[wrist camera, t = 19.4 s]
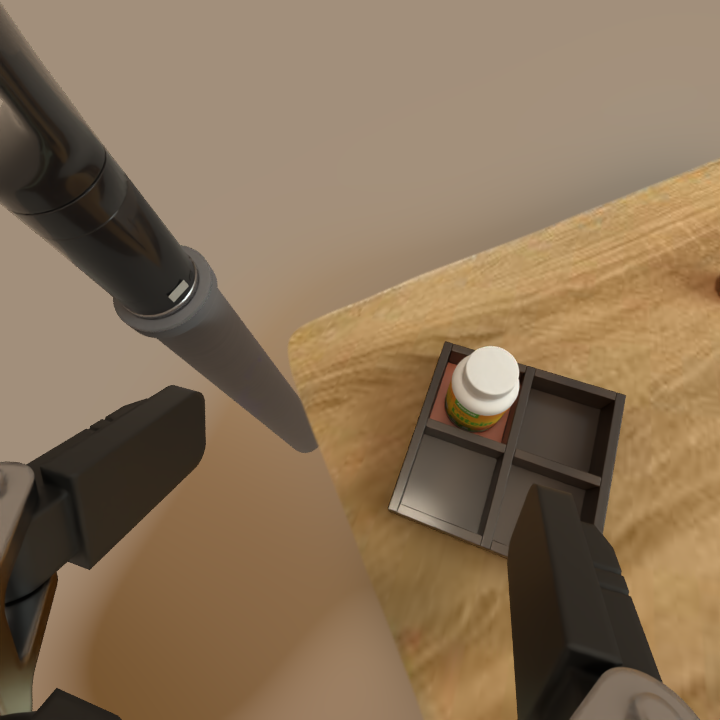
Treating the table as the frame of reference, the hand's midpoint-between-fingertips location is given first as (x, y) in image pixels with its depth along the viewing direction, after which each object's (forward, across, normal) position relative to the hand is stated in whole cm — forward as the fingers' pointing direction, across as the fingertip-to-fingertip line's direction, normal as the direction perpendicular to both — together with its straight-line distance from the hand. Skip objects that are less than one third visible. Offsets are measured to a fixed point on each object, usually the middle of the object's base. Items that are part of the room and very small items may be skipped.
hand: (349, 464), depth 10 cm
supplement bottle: (+30, -5, +13) cm, 33 cm away
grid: (+27, -9, +16) cm, 33 cm away
